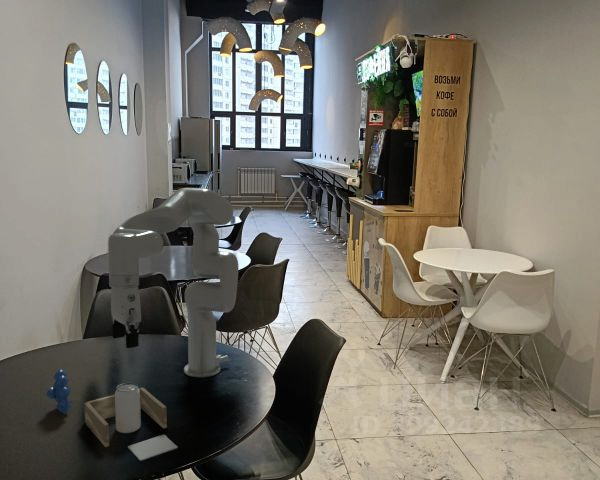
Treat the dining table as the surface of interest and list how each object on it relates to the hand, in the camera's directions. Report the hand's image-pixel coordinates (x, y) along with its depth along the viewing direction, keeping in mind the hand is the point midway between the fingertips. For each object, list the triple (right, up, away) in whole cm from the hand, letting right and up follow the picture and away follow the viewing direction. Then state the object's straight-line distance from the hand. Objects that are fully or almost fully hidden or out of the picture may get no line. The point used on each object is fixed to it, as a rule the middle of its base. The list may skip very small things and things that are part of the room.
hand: (125, 342), depth 147 cm
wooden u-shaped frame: (-1, -24, +4) cm, 24 cm away
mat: (+9, -26, -7) cm, 28 cm away
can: (0, -24, +3) cm, 25 cm away
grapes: (-23, -23, +12) cm, 34 cm away
